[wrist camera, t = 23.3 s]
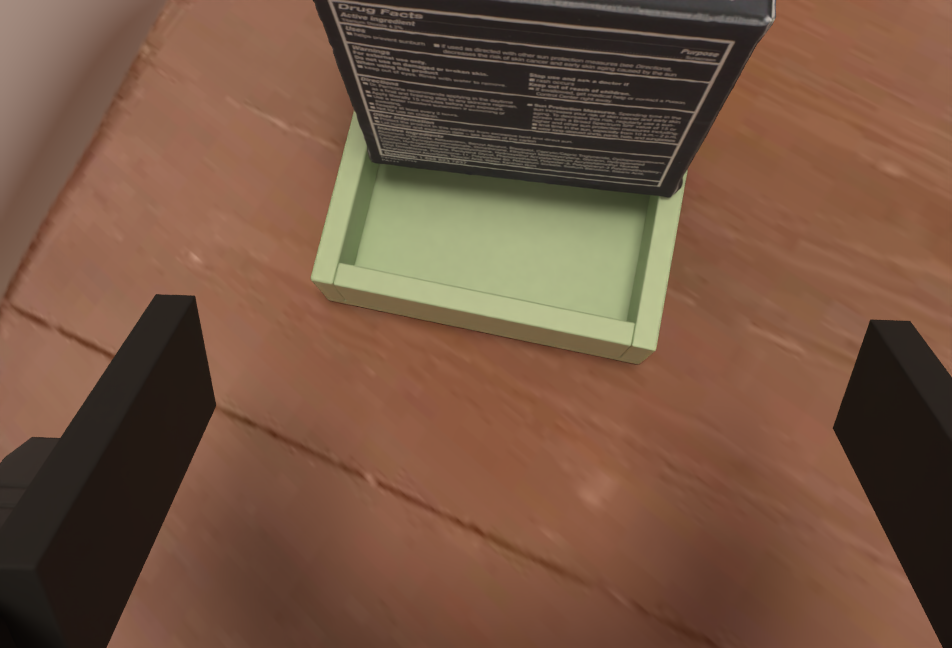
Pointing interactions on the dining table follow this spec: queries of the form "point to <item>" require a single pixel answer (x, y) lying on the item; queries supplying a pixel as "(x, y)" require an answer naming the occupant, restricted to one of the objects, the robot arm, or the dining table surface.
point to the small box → (543, 84)
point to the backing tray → (499, 254)
